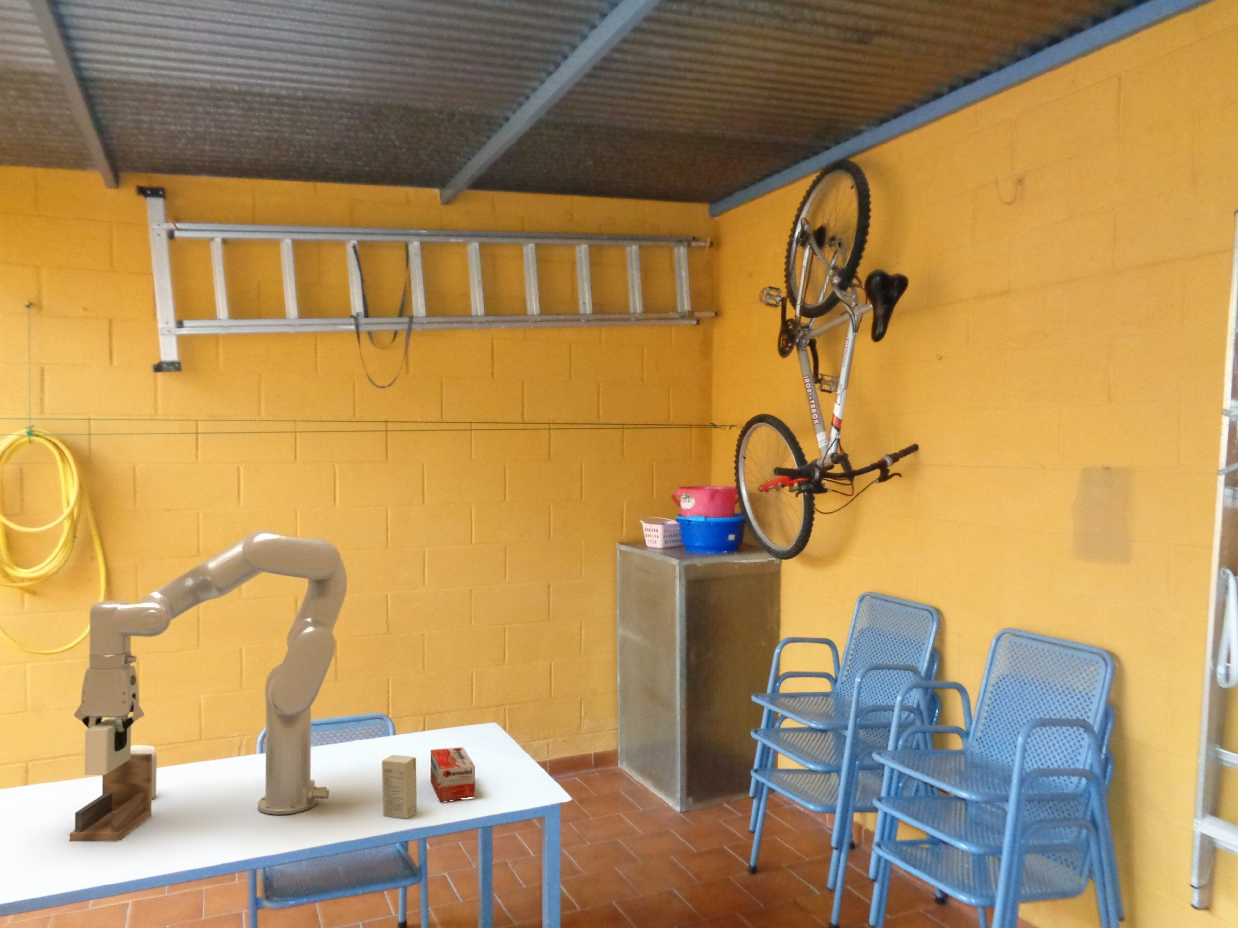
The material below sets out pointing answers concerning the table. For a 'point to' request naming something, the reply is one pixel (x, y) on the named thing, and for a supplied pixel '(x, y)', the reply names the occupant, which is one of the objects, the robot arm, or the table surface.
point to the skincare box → (399, 786)
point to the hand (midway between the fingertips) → (108, 748)
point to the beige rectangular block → (104, 748)
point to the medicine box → (452, 774)
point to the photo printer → (151, 750)
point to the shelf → (117, 803)
